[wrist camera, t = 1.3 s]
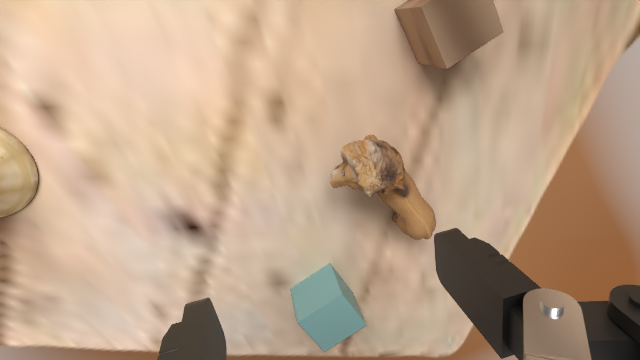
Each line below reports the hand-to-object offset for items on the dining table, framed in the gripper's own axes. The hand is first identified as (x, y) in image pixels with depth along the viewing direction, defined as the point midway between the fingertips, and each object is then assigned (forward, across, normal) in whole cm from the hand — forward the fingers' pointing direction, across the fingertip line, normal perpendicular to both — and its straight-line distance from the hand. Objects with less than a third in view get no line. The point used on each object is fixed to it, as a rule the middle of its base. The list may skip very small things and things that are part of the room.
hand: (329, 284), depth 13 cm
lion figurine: (+22, -8, +7) cm, 24 cm away
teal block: (+22, -1, +18) cm, 28 cm away
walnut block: (+21, -15, -6) cm, 27 cm away
